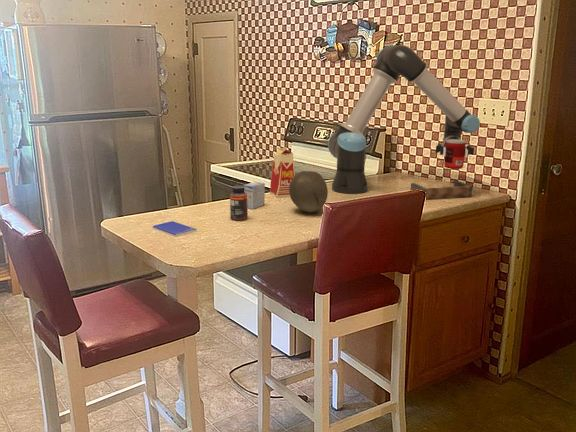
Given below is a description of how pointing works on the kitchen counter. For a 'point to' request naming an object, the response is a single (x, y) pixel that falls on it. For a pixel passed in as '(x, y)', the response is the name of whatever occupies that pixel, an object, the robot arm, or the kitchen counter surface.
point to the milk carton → (282, 173)
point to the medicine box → (255, 194)
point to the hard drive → (174, 228)
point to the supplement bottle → (238, 204)
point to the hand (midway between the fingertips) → (455, 153)
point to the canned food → (454, 154)
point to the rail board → (446, 191)
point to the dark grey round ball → (308, 191)
